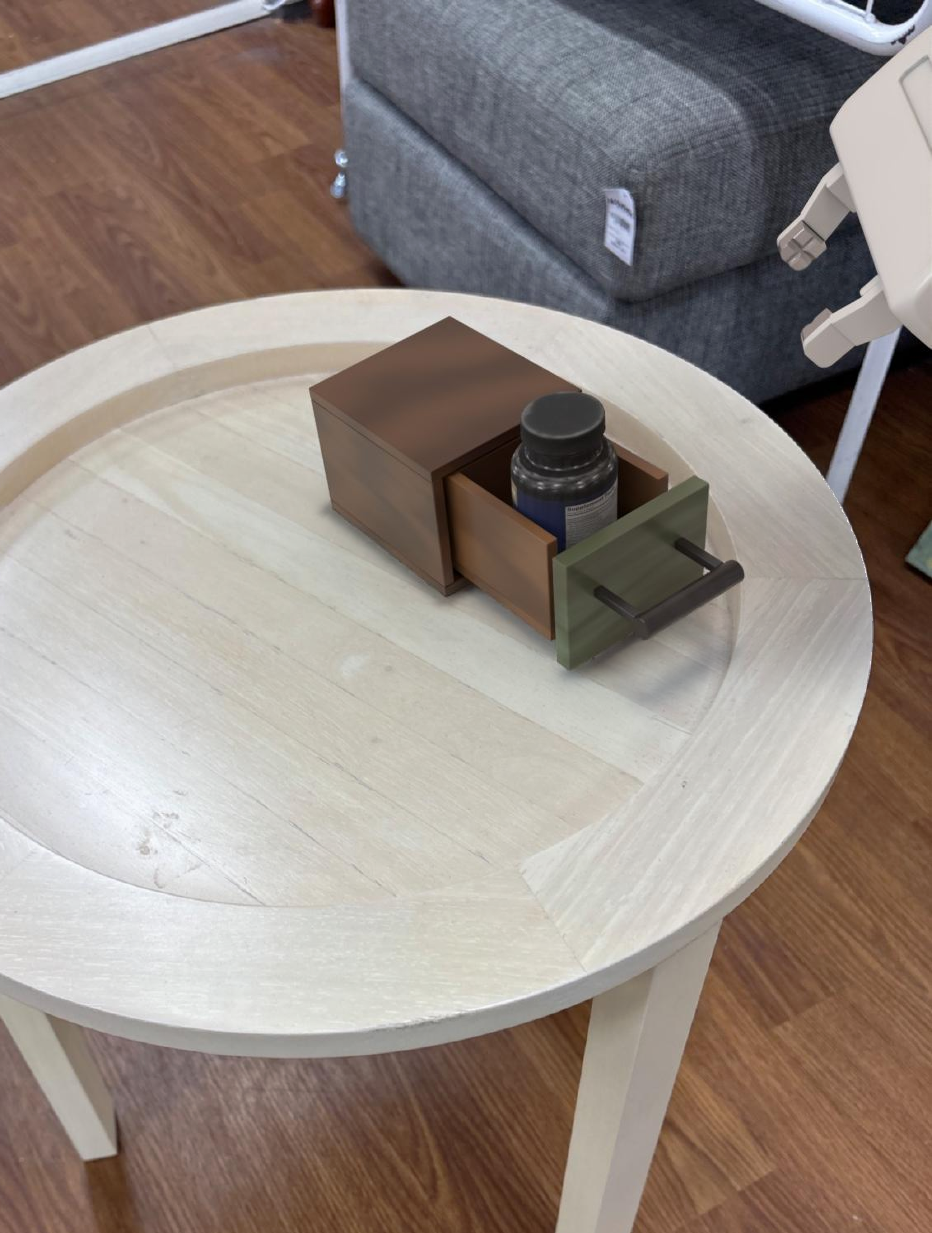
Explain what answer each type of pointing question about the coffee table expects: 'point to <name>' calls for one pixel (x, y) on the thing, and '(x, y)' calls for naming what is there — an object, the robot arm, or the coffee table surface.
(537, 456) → the pill bottle
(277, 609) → the coffee table surface
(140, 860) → the coffee table surface
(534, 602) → the drawer
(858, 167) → the robot arm
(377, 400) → the cabinet
